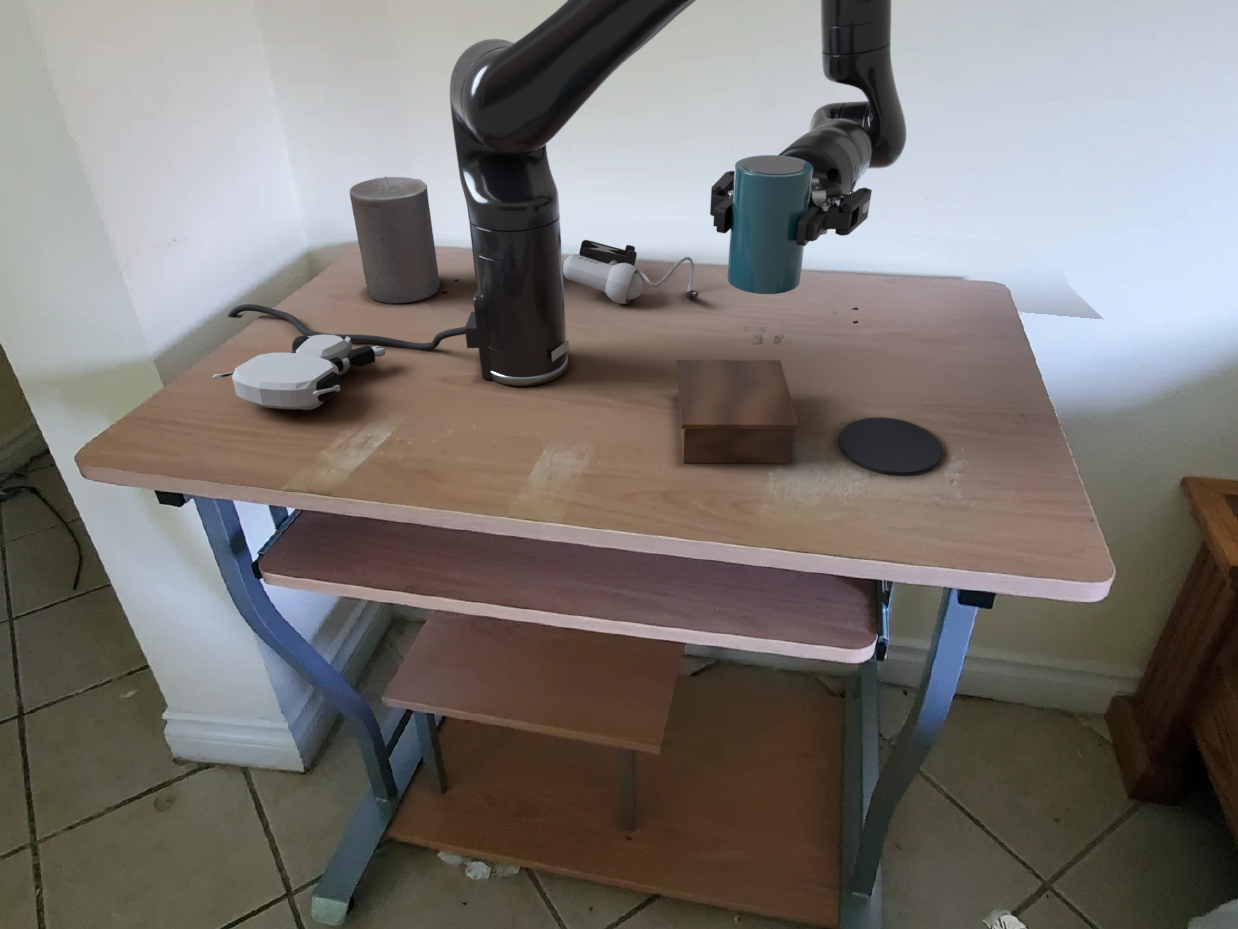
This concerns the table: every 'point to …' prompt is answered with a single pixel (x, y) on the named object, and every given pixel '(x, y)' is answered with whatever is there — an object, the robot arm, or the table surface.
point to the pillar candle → (395, 239)
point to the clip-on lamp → (613, 271)
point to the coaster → (890, 446)
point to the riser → (735, 411)
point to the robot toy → (300, 372)
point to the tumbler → (768, 223)
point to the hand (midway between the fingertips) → (760, 227)
